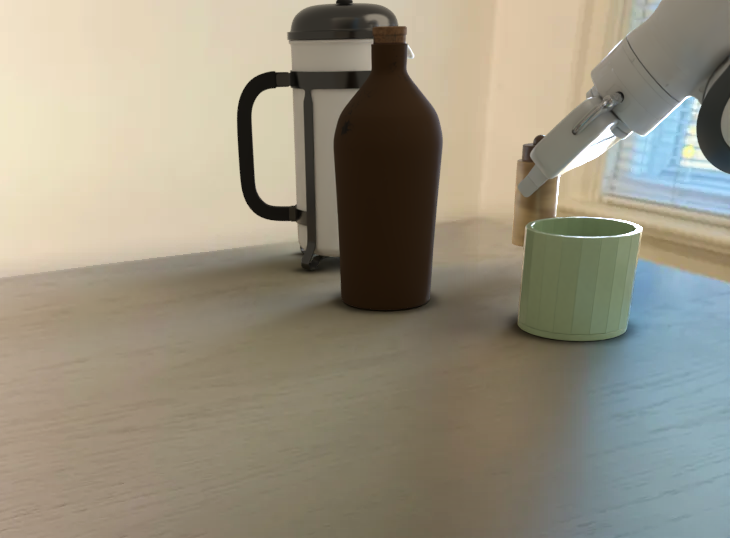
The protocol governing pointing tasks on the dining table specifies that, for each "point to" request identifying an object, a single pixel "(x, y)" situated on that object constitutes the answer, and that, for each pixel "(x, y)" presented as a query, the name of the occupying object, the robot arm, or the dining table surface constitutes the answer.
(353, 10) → the coffee press
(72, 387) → the dining table surface
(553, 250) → the cup
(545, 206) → the pepper mill
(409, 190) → the olive oil
